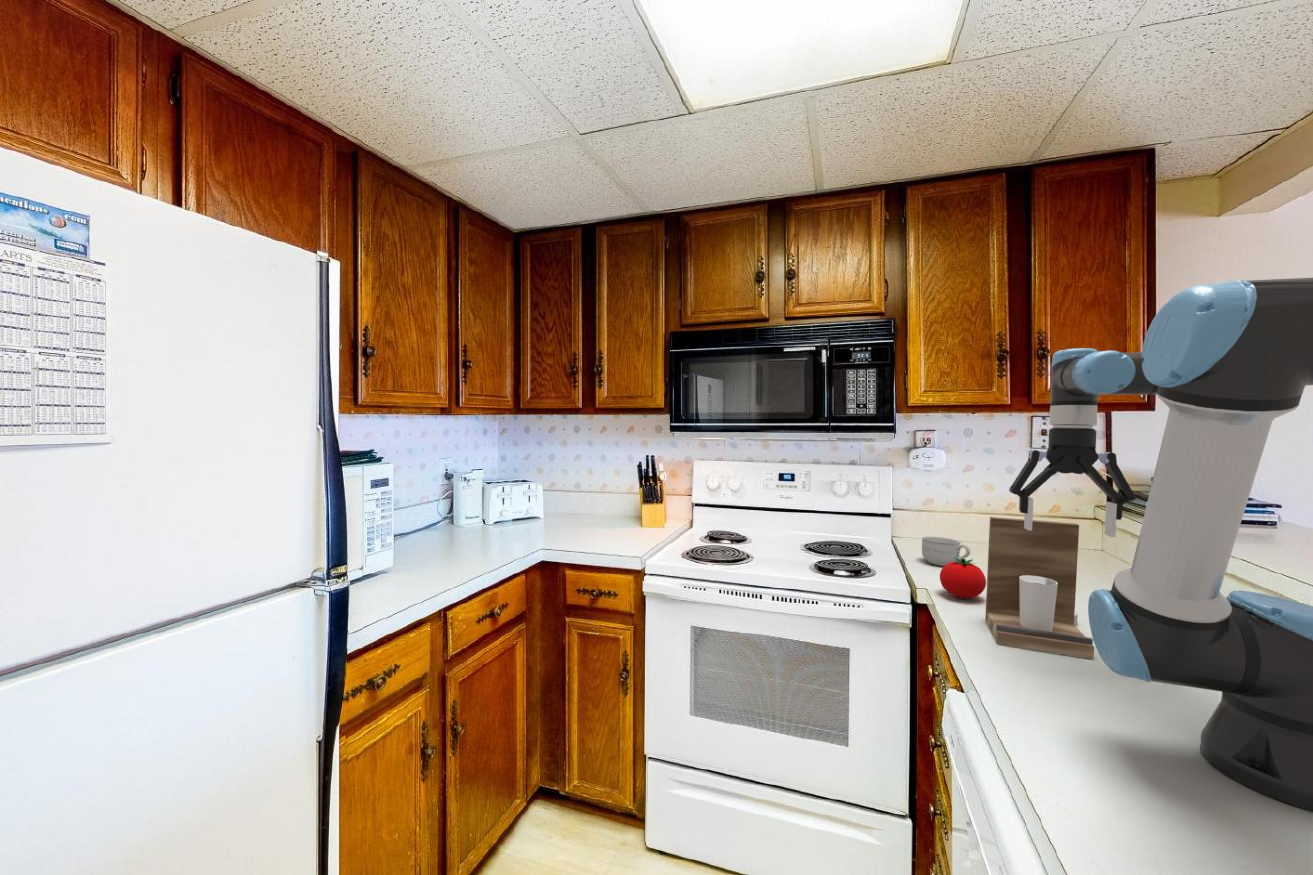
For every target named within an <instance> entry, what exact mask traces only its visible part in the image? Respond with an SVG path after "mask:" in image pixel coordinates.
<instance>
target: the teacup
mask: <svg viewBox="0 0 1313 875" xmlns="http://www.w3.org/2000/svg"><path fill="white" fill-rule="evenodd" d="M921 539H922V541H921V554H922V558H924V559H925V560H926V561H927V562H928V563H929V564H932V565H936V566H940V567H944V566H945V565H946V564H948V563H950V562H954V561H957V560H956V559H955V557H956V558H958V559H960V560H961V559H966V558H968V557H969V556H970V554H971V548H970V547H969V546H968V545H967V544H965V543H963V544H962V543H961V541H960V540H958V539H955V538H954V539H953V538H949V537H943V536H934V535H933V536H930V535H929V536H926V535H925V536H922V537H921ZM961 548H963V549H965V552H966V553H965V554H964V555H961V556H960V551H961ZM951 560H952V561H951Z"/></svg>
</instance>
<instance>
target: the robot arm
mask: <svg viewBox="0 0 1313 875" xmlns="http://www.w3.org/2000/svg"><path fill="white" fill-rule="evenodd" d="M1051 361H1052V362H1051V365H1050V369H1049V370H1050V372H1051V374H1050V400H1049V401H1050V404H1049V406H1050V408H1049V425H1050V426H1052V428H1050V429H1048V448H1047V450H1046V451H1042V450H1041V451H1039V450H1037V449H1031V450H1029V452H1028V457H1027V461H1026V463H1025V464H1024V465H1023V467H1022V469H1021V470H1020V472H1019V473H1018V475H1017V477H1016V478H1015V479H1014V481H1013V482H1012V484H1011V486H1010V487H1009V489H1008V490H1009V492H1010V493H1011V494H1014V495H1016V496H1017V497H1018V498H1019V501H1018V502H1019V505H1018V511H1019V513H1020V514H1024V518H1023V519H1024V528H1025V529H1026V530H1030V531H1032V522H1033V520H1034V519H1033V518H1034V517H1033V516H1034V498H1032V497H1031V495H1032V494H1034V493H1035V492H1036V491H1037V490H1038V489H1039V488H1040V487H1041V486H1042V485H1043V484H1045V483H1046V482H1047V481H1048V480H1049V479H1051V478H1052V477H1053V476H1054V475H1056V474H1057V473H1060V474H1066V475H1067V474H1076V475H1082V474H1085V475H1086V476H1087V477H1088V478H1089V479H1090V480H1091V481H1092V482H1093V483H1094V484H1095V485H1096V486H1097V487H1098V488H1099V489H1100V490H1101V491H1102V493H1104V495H1105V496H1106V497H1108V498H1109V499H1110V500H1111V501H1106V502H1105V515H1104V516H1105V518H1104V519H1105V520H1104V535H1106V536H1108V537H1110V538H1116V529H1117V528H1116V527H1117V521H1118V520H1122V518H1123V505H1124V504H1126V503H1127V502H1130V501H1131V502H1133V501H1135V500H1136V498H1137V496H1136V495H1135V493H1134V491H1133V489H1132V487H1131V486H1130V485H1129V483H1128V481H1127V479H1126V477H1125V476H1124V474H1123V472H1122V471H1121V469H1120V467H1119V465H1118V463H1117V462H1118V460H1117V454H1116V453H1115V452H1109V451H1106V452H1104V453H1098V452H1097V446H1096V445H1097V430H1096V428H1094V427H1096V426H1097V425H1098V405H1099V404H1098V402H1099V396H1100V395H1101V396H1102V395H1104V396H1107V395H1108V396H1109V395H1110V396H1111V395H1112V396H1113V395H1114V396H1119V395H1120V396H1122V395H1123V396H1126V395H1129V396H1132V395H1133V396H1137V395H1138V396H1140V395H1141V396H1143V395H1146V396H1148V395H1149V396H1151V395H1156V396H1157V398H1158V399H1160V400H1161V402H1163V403H1164V405H1166V406H1167V407H1168V409H1169V411H1168V415H1167V419H1166V423H1165V427H1164V431H1163V436H1162V439H1161V444H1160V449H1159V453H1158V457H1157V462H1156V465H1155V469H1154V473H1153V477H1152V482H1151V487H1150V488H1149V494H1148V498H1147V502H1146V506H1145V511H1144V515H1143V519H1142V522H1141V527H1140V532H1139V535H1138V538H1137V540H1138V541H1137V544H1136V548H1135V552H1134V556H1133V561H1132V565H1131V567H1128V568H1125V569H1122V570H1121V571H1118V572H1117V573H1116V574H1115V576H1114V578H1113V583H1112V586H1111V589H1110V590H1109V589H1105V588H1101V589H1095V590H1094V591H1092V592H1091V593H1090V595H1089V598H1088V602H1087V605H1088V606H1087V613H1088V621H1089V627H1090V628H1089V629H1090V632H1091V636H1092V637H1091V638H1092V640H1093V643H1094V647H1095V649H1096V650H1097V653H1098V655H1099V657H1100V659H1101V660H1102V662H1103V663H1104V665H1105V666H1106V667H1107V668H1108V669H1109V670H1110V671H1112V672H1113V673H1115V674H1116V675H1119V676H1121V677H1126V678H1132V679H1135V680H1136V679H1137V680H1140V681H1144V682H1146V683H1151V682H1156V683H1161V684H1162V683H1163V684H1167V685H1175V686H1181V687H1182V686H1183V687H1190V688H1196V689H1200V690H1201V689H1202V690H1203V689H1204V690H1209V691H1215V692H1216V691H1217V692H1221V698H1220V702H1219V703H1218V705H1217V707H1216V708H1215V710H1214V711H1213V713H1212V714H1211V716H1210V717H1209V719H1208V721H1207V722H1206V724H1205V726H1204V727H1203V728H1202V730H1201V733H1200V743H1199V751H1200V753H1201V755H1202V756H1203V758H1205V759H1206V760H1207V762H1208V763H1210V764H1211V765H1212V766H1214V767H1215V768H1216V769H1217V770H1218V771H1220V772H1221V773H1223V774H1225V775H1227V776H1228V777H1229V778H1231V779H1233V781H1236V782H1238V783H1240V784H1242V785H1244V786H1246V787H1248V788H1250V789H1252V790H1254V791H1257V792H1259V793H1261V794H1263V795H1265V796H1268V797H1270V798H1273V799H1276V800H1278V801H1281V802H1284V803H1287V804H1289V805H1292V806H1295V807H1298V808H1301V809H1305V810H1309V811H1312V812H1313V606H1312V605H1310V604H1306V603H1303V602H1302V603H1301V602H1300V601H1299V602H1298V601H1295V600H1290V599H1287V598H1283V597H1280V596H1279V597H1278V596H1275V595H1270V594H1266V593H1265V594H1264V593H1261V592H1260V593H1259V592H1254V591H1249V590H1232V591H1230V592H1229V594H1228V596H1225V595H1223V594H1222V593H1221V592H1220V591H1221V587H1222V586H1223V585H1222V584H1223V581H1224V578H1225V576H1226V575H1225V574H1226V571H1227V568H1228V565H1229V562H1230V559H1231V556H1232V553H1233V549H1234V546H1235V543H1236V540H1237V537H1238V536H1237V535H1238V534H1239V533H1238V532H1239V530H1240V526H1241V523H1242V520H1243V517H1244V515H1245V510H1246V507H1247V504H1248V502H1249V497H1250V494H1251V492H1252V487H1253V485H1254V482H1255V479H1256V475H1257V472H1258V469H1259V466H1260V462H1261V459H1262V456H1263V453H1264V449H1265V446H1266V443H1267V439H1268V436H1269V433H1270V429H1271V427H1272V423H1273V421H1274V420H1276V418H1280V417H1281V416H1284V415H1286V414H1288V413H1290V412H1293V411H1295V410H1297V409H1298V408H1299V406H1300V403H1301V399H1302V396H1303V394H1304V391H1305V387H1307V386H1313V277H1296V278H1295V277H1293V278H1276V279H1275V278H1274V279H1273V278H1271V279H1253V280H1251V279H1249V280H1244V279H1239V280H1229V281H1226V282H1216V283H1207V284H1206V283H1205V284H1198V285H1194V286H1193V285H1192V286H1190V287H1187V288H1184V289H1183V290H1181V291H1179V292H1178V293H1176V294H1174V295H1173V296H1171V297H1170V299H1168V301H1167V302H1166V303H1164V304H1163V305H1162V306H1161V308H1160V309H1159V310H1158V312H1157V313H1156V314H1155V316H1154V318H1153V319H1152V321H1151V323H1150V325H1149V327H1148V330H1147V332H1146V335H1145V337H1144V340H1143V345H1142V349H1141V352H1120V351H1117V350H1103V351H1102V350H1097V349H1095V348H1091V347H1090V348H1089V347H1088V348H1085V347H1084V348H1083V347H1082V348H1067V349H1062V350H1058V351H1055V352H1054V353H1053V355H1052V360H1051ZM1044 458H1045V459H1046V460H1047V462H1049V464H1048V465H1047V466H1046V467H1045V468H1044V469H1043V470H1042V471H1041V472H1040V473H1039V474H1038V475H1037V476H1035V478H1033V479H1032V480H1031V481H1030V482H1028V484H1026V482H1027V481H1028V479H1029V478H1030V476H1031V475H1032V473H1033V471H1034V470H1035V469H1036V468H1037V465H1038V462H1042V460H1043V459H1044ZM1098 460H1099V461H1100V463H1101V464H1104V467H1105V469H1106V471H1107V472H1108V474H1109V476H1110V478H1111V479H1112V481H1113V482H1114V485H1115V487H1116V488H1117V490H1118V491H1119V493H1118V492H1117V491H1116V490H1115V488H1113V486H1111V485H1110V483H1109V482H1108V481H1106V479H1105V478H1104V477H1103V476H1102V475H1101V474H1100V472H1099V470H1097V469H1096V468H1095V467H1094V466H1093V465H1094V464H1095V463H1096V462H1097V461H1098ZM1025 484H1026V485H1025ZM1024 485H1025V486H1024Z"/></svg>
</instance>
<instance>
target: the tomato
mask: <svg viewBox="0 0 1313 875" xmlns="http://www.w3.org/2000/svg"><path fill="white" fill-rule="evenodd" d="M955 559H956V560H957V561H954V562H950V563H948V564H946V565H945V566H942V568H941V570H940V573H939V581H940V584H941V586H942V588H943V589H944V591H946V592H947V593H948V594H950V595H952V596H953V597H956V598H959V599H973V598H976V597H978V596H980V595H981V594H982V593H983V592H984V591H985V589H986V588H987V578H986V575H985V574H984V572H983V570H982V569H981V568H980V567H978V566H977V565H975V564H977V563H976V562H973V561H974V559H969V560H966V558H964V559H961V560H960V559H958V558H956V557H955ZM951 561H952V560H951Z"/></svg>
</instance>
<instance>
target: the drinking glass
mask: <svg viewBox="0 0 1313 875" xmlns="http://www.w3.org/2000/svg"><path fill="white" fill-rule="evenodd" d="M1019 586H1020V625H1021V626H1023V627H1025V628H1027V629H1034V630H1040V631H1047V632H1051V631H1053V622H1054V613H1055V604H1056V595H1057V586H1058V583H1057V582H1056V581H1054V580H1051V579H1048V578H1044V577H1039V576H1031V575H1023V576H1020V577H1019Z"/></svg>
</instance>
